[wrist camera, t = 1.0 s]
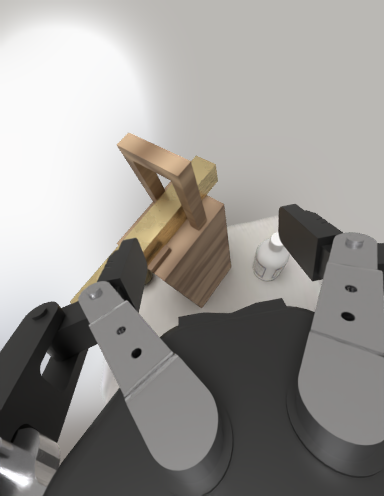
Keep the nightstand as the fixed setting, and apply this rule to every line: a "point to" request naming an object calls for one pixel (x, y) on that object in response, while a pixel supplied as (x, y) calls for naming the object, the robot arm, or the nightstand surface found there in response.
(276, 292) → the nightstand surface
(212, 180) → the gold square bar
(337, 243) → the robot arm
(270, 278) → the bath foam
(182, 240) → the walnut stand
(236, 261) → the nightstand surface
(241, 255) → the nightstand surface
